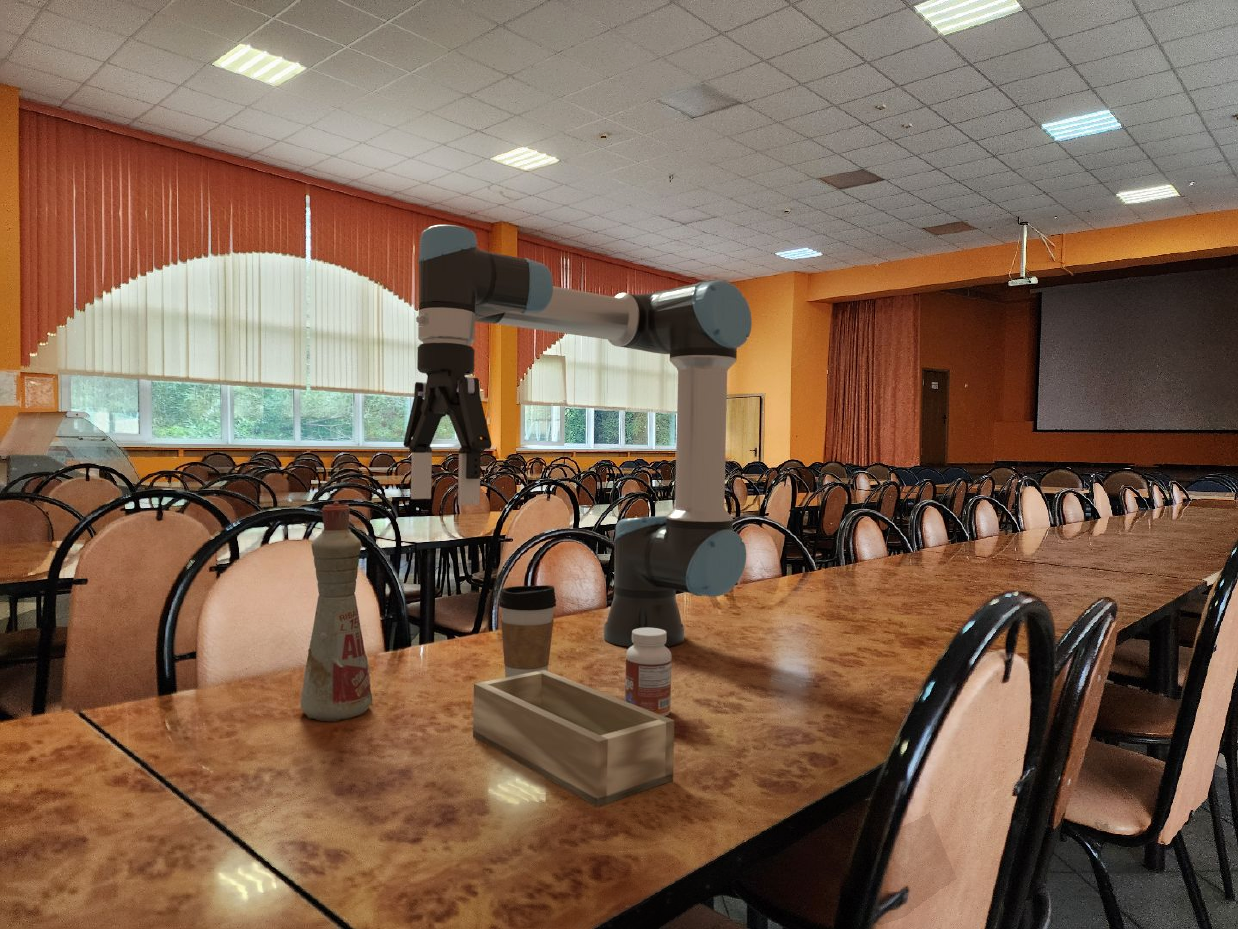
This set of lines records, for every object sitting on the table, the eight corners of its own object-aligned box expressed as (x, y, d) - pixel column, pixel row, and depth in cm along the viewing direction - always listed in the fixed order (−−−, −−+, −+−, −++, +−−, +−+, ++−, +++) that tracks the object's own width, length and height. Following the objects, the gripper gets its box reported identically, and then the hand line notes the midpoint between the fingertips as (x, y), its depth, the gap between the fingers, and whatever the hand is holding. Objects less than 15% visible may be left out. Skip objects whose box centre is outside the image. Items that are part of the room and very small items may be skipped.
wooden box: (543, 719, 104) (544, 669, 104) (672, 780, 86) (674, 720, 86) (472, 736, 98) (473, 683, 98) (597, 807, 79) (598, 741, 79)
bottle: (315, 700, 110) (318, 498, 110) (380, 702, 110) (383, 499, 109) (287, 722, 102) (290, 502, 101) (358, 724, 101) (361, 503, 101)
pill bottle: (624, 705, 111) (626, 625, 111) (669, 706, 111) (670, 626, 111) (624, 720, 105) (626, 636, 105) (671, 721, 105) (673, 637, 105)
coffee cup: (545, 699, 113) (547, 593, 113) (488, 694, 115) (490, 590, 114) (561, 682, 121) (563, 584, 121) (508, 678, 123) (510, 581, 123)
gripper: (381, 349, 115) (379, 496, 115) (467, 331, 96) (464, 508, 96) (429, 354, 120) (427, 495, 120) (520, 338, 101) (517, 506, 101)
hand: (443, 501), depth 108 cm, fingers open, 13 cm apart
